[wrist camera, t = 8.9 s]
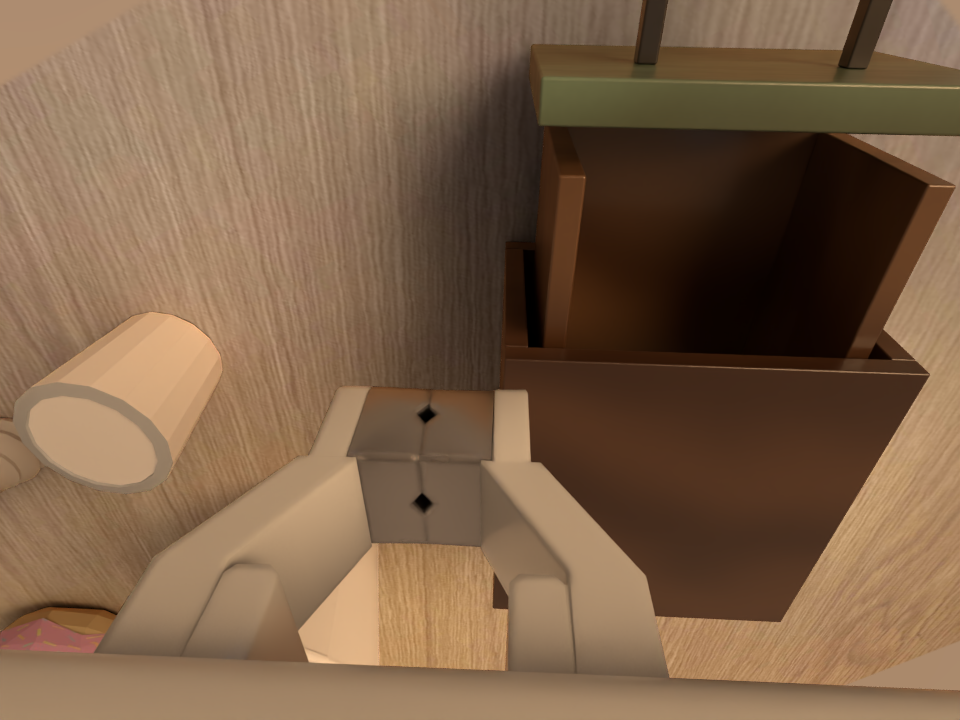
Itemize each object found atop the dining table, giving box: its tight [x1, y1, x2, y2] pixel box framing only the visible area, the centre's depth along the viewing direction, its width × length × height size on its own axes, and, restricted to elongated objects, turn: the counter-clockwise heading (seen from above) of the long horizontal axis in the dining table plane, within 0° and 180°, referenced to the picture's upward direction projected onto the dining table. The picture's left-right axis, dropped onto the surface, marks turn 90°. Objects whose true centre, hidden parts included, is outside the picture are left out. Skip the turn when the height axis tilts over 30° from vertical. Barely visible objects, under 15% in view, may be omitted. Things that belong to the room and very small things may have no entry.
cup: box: [298, 543, 379, 665], centre depth 32 cm, size 12×12×12 cm
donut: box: [0, 607, 117, 653], centre depth 47 cm, size 16×15×5 cm
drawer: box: [528, 0, 960, 359], centre depth 19 cm, size 18×12×8 cm
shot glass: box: [13, 312, 223, 494], centre depth 28 cm, size 7×7×7 cm
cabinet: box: [493, 242, 930, 622], centre depth 26 cm, size 15×14×10 cm
